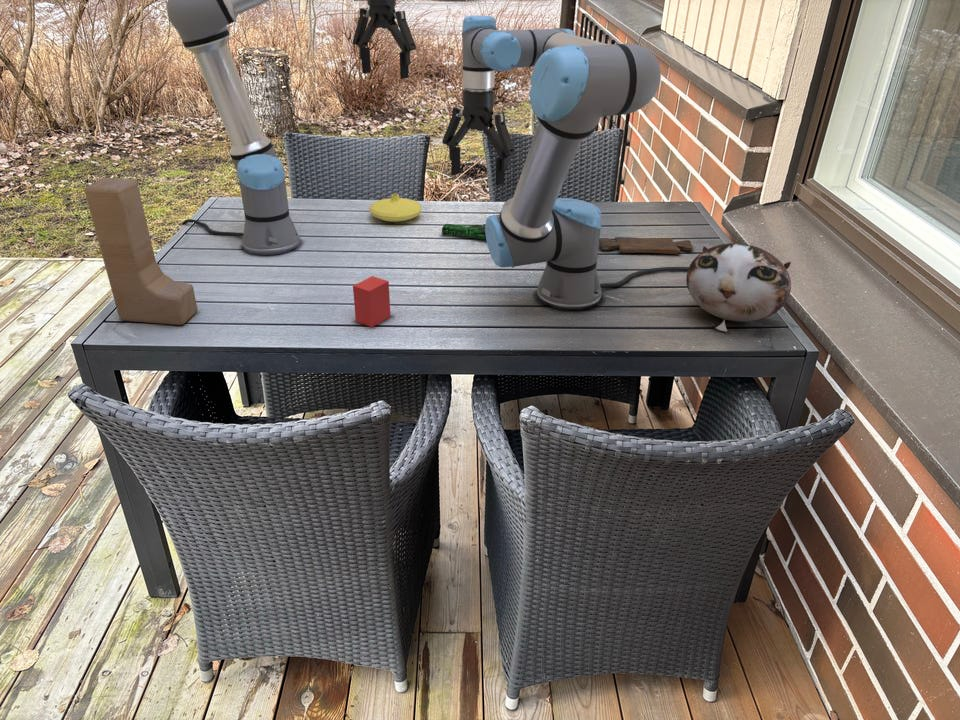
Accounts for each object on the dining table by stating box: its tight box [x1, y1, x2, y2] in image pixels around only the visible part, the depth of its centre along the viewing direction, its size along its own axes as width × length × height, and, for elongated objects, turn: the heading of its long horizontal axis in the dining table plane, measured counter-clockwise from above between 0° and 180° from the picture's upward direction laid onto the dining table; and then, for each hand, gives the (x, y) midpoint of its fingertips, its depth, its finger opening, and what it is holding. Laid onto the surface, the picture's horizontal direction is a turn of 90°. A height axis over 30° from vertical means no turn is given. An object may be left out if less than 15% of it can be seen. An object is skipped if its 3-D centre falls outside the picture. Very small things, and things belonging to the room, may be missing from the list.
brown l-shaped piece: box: [83, 177, 198, 326], centre depth 152 cm, size 8×15×30 cm, turn 82°
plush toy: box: [685, 242, 792, 332], centre depth 158 cm, size 22×18×20 cm
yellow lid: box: [369, 193, 422, 223], centre depth 215 cm, size 16×16×7 cm
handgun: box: [441, 223, 487, 242], centre depth 207 cm, size 16×3×15 cm
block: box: [352, 275, 392, 328], centre depth 158 cm, size 5×6×9 cm
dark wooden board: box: [599, 236, 693, 255], centre depth 198 cm, size 26×2×10 cm
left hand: (385, 75), depth 197 cm, fingers open, 13 cm apart
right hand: (477, 179), depth 178 cm, fingers open, 13 cm apart
